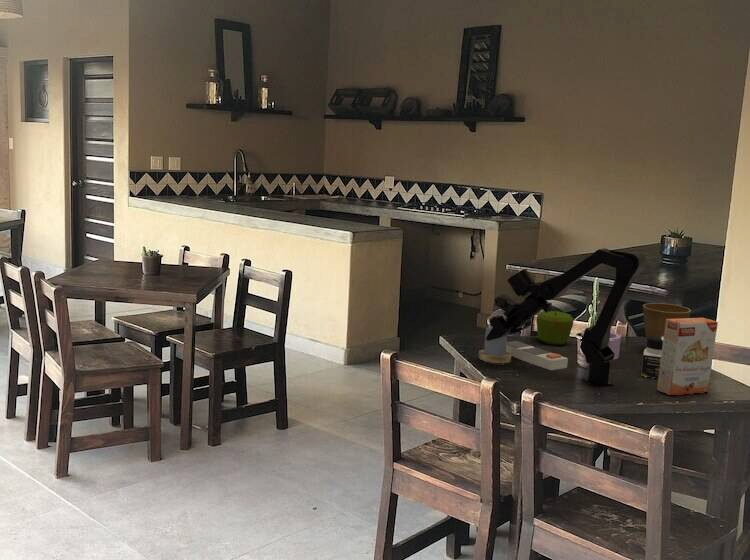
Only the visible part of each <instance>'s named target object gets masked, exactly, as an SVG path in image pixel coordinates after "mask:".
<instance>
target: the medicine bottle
mask: <svg viewBox="0 0 750 560" xmlns="http://www.w3.org/2000/svg"><path fill="white" fill-rule="evenodd" d="M663 338H664V337H662V336H649V337H648V338H646V347H645V349H644V350H643V355H642V356H643V357H642V365H641V373H640V377H642V376H644V377H643V378H647V377H652V378H651V379H654V378H658V376H659V368H660V361H661V353H662V346H663Z"/></svg>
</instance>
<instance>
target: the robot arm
mask: <svg viewBox="0 0 750 560" xmlns="http://www.w3.org/2000/svg"><path fill="white" fill-rule="evenodd" d="M602 265H606V266H609V267H611V268H614V269H615V276H614V277H615V280H614V282H613V284H612V286H611V288H610V292H609V294H608V295H607V298H606V300H605V302H604V304H603V307H602V309H601V311H600V313H599V315H598V318H597V319H596V323H595V324H594V325H591V326H588V327H586V328H585V329H584V330H583V331H584V335H583V337H582V339H581V338H580V340H579V342H581V341H582V342H581V345H580V344H579V349H580V348H581V350H582V352H583V354H584V355H585V356H584V358H585V359H584V360H585V362H586V364H588V365H587V373H586V374H587V375H586V377H582V378H581V380H582V381H584V382H586V383H588V384H589V385H591V386H593V387H594V386H597V387H599V386H613V385H614V384H613V383H612V382H611V381H609V377H610V367H611V363H610V362H612V361H613V360H614V359H613V358H614V356H615V354H614V352H613V351H612V350H611V348H610V347H609V346H608V344H609V340H610V330H611V328H612V326H613V325H614V322H615V320H616V317H617V315H618V313H619V311H620V309H621V307H622V305H623V303H624V301H625V298H626V296H627V294H628V292H629V290H630V287H632V284H633V283H634V282H635V281H636V279H637V278H638V277H639V276H640V274H641V273H642V272H643V270H644V269H645V268H646V265H647V260H646V257H645V256H644V254H643V253H641V252H640V251H631V252H625V251H618V250H614V249H613V250H612V249H608V248H605V247H603V248H599V249H597V250H595V251H594V252H593V253H592V254H590V255H589V256H587V257H585V258H584V259H583V260H582V261H580V262H578V263H577V264H575V265H574V266H572V267H571V268H569V269H568V270H566V271H565V272H563V273H562V274H559V275H556V276H553V277H551V278H549V279H547V280H544V281H539V282H535V280H534V279H533V277H532V276H531V274H529V271H528V270H527V269H526V268H523V269H521V270H520V271H518V272H517V273H515V274H513V275H510V277H508V279H506V282H507V284H508V286H509V287H510V289H512V290H513V292H514V294H515V295H516V296H517V297H521V298H524V299H522V300H521V301H520V302H517V301H515V299H513V298H511V297H510V296H509V295H507V294H505V293H503V294H498V296H496V298H494V306H495V307H498V308H499V309H501V310H502V311H503V315H500V314H499V315H495V316H492V317H491V318H490V319H488V322H489V324H490V325H491V326H492V329H491V331H490V332H489V334H488V335H487V337H486V340H487V341H490V340H493V339H497V338H501V337H504V336H507V334H508V336H509V335H512V334H515V333H518V332H522V331H523V330H526V329H529V328H530V327H531V326H532V324H533V319H534V318H535V316H536V315H538V314H540V313H541V311H543V312H545V313H547V312H550V311H553V310H552V309H553V307H552V305H553V303H552V302H549V301H552V300H555V299H558V298H561V297H562V296H563V295H564V294H565V293H566V292H567V291H569V289H570V288H571V286H572V285H573V284H574V283H576V282H578V281H579V280H581V279H582V278H584V277H585V276H586V275H589V274H590V273H592V272H593V271H595V270H596V269H597V268H599V267H601V266H602ZM539 312H540V313H539ZM504 317H505V318H504ZM508 336H507V337H508Z"/></svg>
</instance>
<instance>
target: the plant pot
mask: <svg viewBox="0 0 750 560" xmlns="http://www.w3.org/2000/svg"><path fill="white" fill-rule="evenodd" d="M691 311H692V310H691V309H690V308H688V307H685V306H682V305H679V304H678V305H677V304H672V303H660V302H658V303H657V302H651V303H650V302H649V303H644V304H643V305H642V313H643V324H644V332H645V338H646V339H647V338H648V337H649V336H662V337H664V331H665V323H666V319H679V318H690V315H691Z"/></svg>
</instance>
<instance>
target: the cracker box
mask: <svg viewBox="0 0 750 560" xmlns="http://www.w3.org/2000/svg"><path fill="white" fill-rule="evenodd" d="M718 324H719V322H718V321H716V320H713V319H709V318H705V317H689V318H679V319H666V323H665V331H664V338H663V346H662V353H661V361H660V368H659V376H658V379H657V385H656V386H657V387H656V391H657V390H658V392H660V393H662V392H663V394H664V393H666V394H665V395H667V394H668V396H669V395H677V396H685V395H684V394H689V395H695V394H694V393H700V394H703V393H702V392H709V391H708V390H709V387H710V386H709V385H710V377H711V370H712V364H713V357H714V353H715V352H714V351H715V343H716V338H717V331H718V330H717V329H718Z"/></svg>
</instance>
